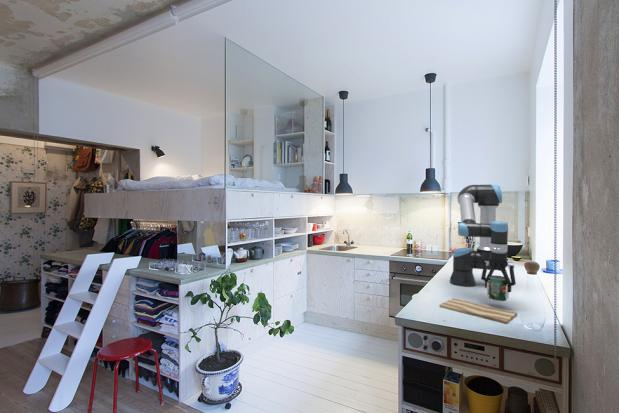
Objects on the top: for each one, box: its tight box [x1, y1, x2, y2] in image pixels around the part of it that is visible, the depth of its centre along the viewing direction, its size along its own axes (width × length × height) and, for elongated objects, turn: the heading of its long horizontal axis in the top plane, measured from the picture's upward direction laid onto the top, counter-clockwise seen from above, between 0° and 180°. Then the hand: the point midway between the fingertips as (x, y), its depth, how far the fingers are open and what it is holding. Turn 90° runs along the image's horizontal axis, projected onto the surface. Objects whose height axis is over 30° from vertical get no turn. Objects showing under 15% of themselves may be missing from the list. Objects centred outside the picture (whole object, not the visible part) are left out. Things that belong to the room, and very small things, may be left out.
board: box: [439, 297, 518, 325], centre depth 156 cm, size 16×30×1 cm, turn 43°
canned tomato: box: [488, 274, 508, 302], centre depth 162 cm, size 8×8×11 cm
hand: (497, 296), depth 162 cm, fingers closed on canned tomato, 8 cm apart
